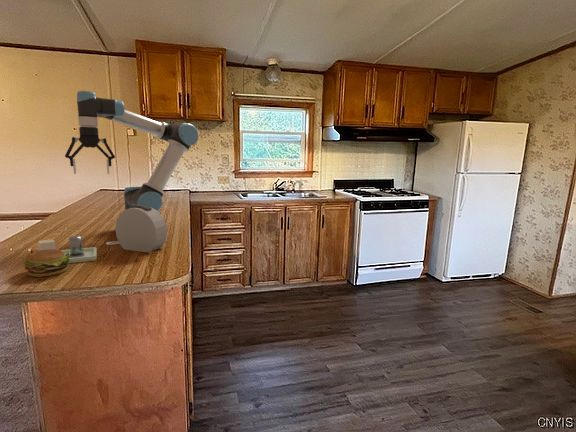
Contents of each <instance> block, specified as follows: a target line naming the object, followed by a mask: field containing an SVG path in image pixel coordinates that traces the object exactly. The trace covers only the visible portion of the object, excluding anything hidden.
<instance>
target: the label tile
mask: <svg viewBox="0 0 576 432" xmlns="http://www.w3.org/2000/svg"><path fill="white" fill-rule="evenodd" d="M106 245H107V246H111V245H120V243H119V241H118V240H117V241H107V242H106Z"/></svg>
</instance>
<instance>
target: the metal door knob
mask: <svg viewBox="0 0 576 432" xmlns="http://www.w3.org/2000/svg"><path fill="white" fill-rule="evenodd" d="M68 242H69V244H68V245H69V249H70V255H69V256H70V258H75V257H83V256H84V253H83V248H84V247H83V237H82V236H81V235H72V236H69V237H68Z"/></svg>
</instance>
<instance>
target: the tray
mask: <svg viewBox="0 0 576 432" xmlns="http://www.w3.org/2000/svg"><path fill="white" fill-rule="evenodd" d="M60 250H61V249H60ZM61 251H62V252H64V253H65V255H66V254H67V253H69V255H70V248H69V249H62V250H61ZM97 252H98V250H97V247H95V246H91V247H83V253H84V256H83V257H75V258H69V259H70V261H69V262H68V264H75V263H86V262H93V261H97Z"/></svg>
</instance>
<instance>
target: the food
mask: <svg viewBox="0 0 576 432" xmlns="http://www.w3.org/2000/svg"><path fill="white" fill-rule="evenodd" d="M69 258H70V256H69V253H67V254H66V255H65V253H64V252H62V251H61V249H57V248H56V249H45V250H40V251H39V250H36V251H35V252H33V253H31V254H30V255H29V256H28V257H27V259H25V260H24V262H22V264H24V270H27V275H28V276H31V277H36V278H37V277H38V278H42V277H44V276H45V277H51V276H56V275H59V274H62V273H64V272H66V271H67V270H68V267H69V266H68V265H69V263H68V262H69V261H70V259H69Z"/></svg>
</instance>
